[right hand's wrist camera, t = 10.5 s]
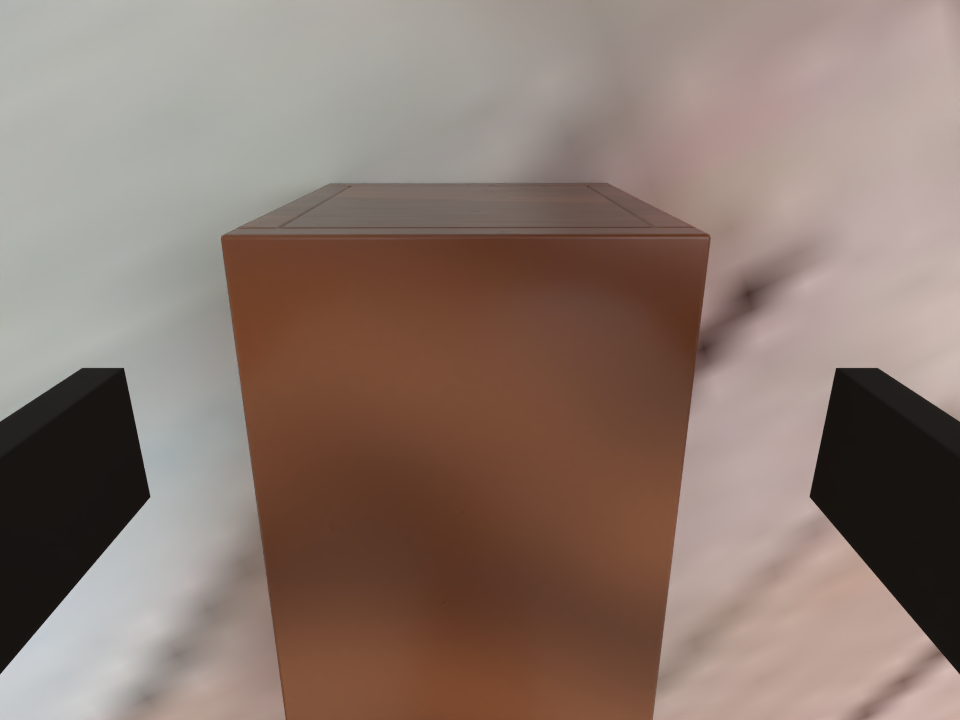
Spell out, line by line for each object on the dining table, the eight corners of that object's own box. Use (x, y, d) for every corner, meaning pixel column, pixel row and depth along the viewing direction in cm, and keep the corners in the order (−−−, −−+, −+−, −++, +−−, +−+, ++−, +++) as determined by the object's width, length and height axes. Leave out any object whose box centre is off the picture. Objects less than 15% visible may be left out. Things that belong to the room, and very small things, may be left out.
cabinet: (581, 607, 32) (637, 858, 21) (361, 608, 32) (304, 861, 21) (609, 183, 25) (712, 234, 14) (328, 183, 25) (219, 235, 14)
